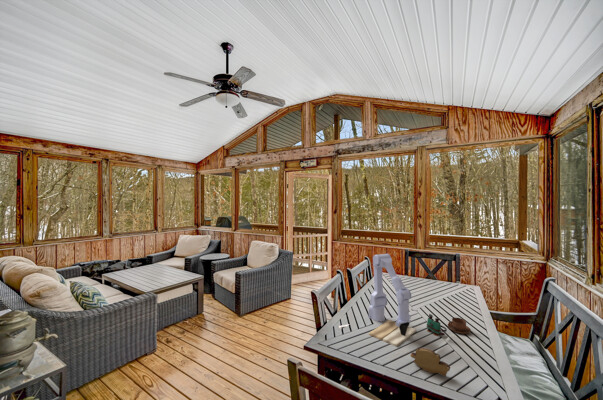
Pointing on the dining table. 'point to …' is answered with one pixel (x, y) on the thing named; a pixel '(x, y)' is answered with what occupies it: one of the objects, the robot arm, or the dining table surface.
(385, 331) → the board
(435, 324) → the binoculars
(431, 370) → the wooden carving
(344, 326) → the cell phone
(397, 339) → the maple plank
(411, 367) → the dining table surface
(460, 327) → the brown cowboy hat
